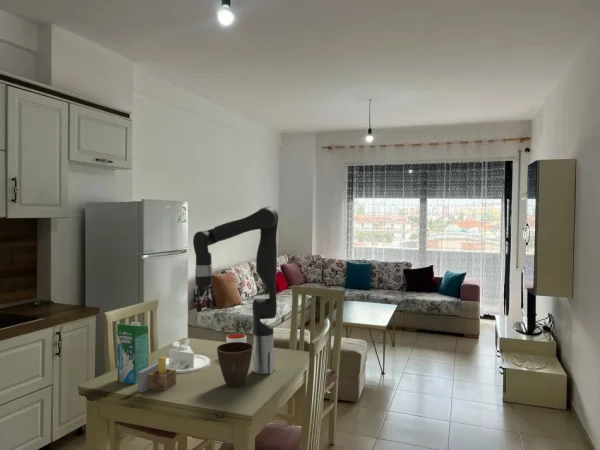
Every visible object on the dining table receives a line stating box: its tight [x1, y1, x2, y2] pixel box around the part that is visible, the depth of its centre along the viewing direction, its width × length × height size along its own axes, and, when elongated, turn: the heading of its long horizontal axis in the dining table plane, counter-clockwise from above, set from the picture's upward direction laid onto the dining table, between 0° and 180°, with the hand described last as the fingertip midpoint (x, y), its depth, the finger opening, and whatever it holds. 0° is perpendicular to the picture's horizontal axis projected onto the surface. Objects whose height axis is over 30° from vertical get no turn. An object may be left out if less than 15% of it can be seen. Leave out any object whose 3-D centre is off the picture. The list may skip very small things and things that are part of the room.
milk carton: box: [116, 321, 149, 385], centre depth 196 cm, size 9×9×25 cm
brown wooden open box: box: [147, 369, 177, 392], centre depth 188 cm, size 8×8×6 cm
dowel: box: [158, 356, 167, 375], centre depth 188 cm, size 3×3×12 cm
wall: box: [137, 361, 159, 393], centre depth 189 cm, size 2×16×8 cm, turn 162°
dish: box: [166, 338, 211, 374], centre depth 216 cm, size 25×25×11 cm
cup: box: [226, 333, 247, 343], centre depth 229 cm, size 10×10×10 cm
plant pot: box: [216, 342, 253, 389], centre depth 189 cm, size 15×15×16 cm
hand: (204, 309), depth 206 cm, fingers open, 8 cm apart
